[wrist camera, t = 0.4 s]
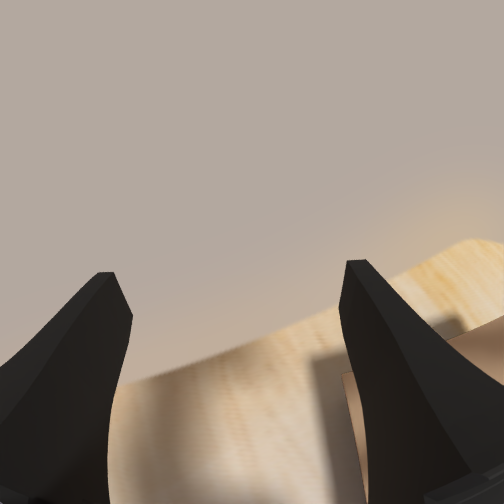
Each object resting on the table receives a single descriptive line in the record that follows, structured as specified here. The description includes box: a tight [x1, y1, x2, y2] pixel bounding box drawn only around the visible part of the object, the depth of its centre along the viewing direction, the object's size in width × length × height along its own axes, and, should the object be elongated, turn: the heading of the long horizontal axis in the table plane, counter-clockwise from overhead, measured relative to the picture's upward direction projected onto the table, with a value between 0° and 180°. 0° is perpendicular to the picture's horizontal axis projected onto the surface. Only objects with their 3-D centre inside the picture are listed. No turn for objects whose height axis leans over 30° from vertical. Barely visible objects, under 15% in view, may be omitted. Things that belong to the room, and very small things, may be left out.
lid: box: [342, 316, 504, 504], centre depth 13 cm, size 15×15×4 cm
